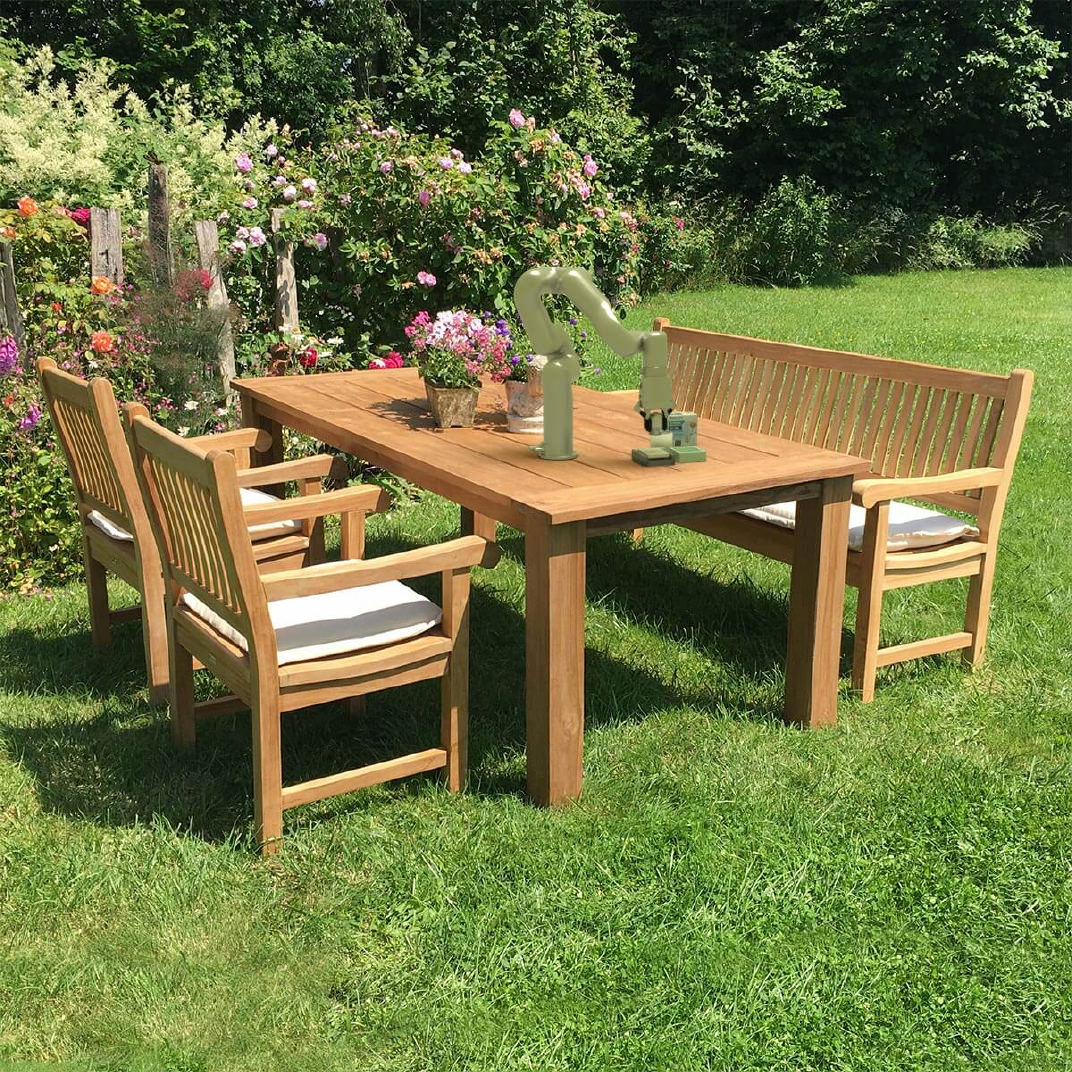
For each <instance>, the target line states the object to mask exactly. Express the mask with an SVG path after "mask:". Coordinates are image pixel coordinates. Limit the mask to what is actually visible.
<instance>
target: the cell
mask: <svg viewBox="0 0 1072 1072" xmlns="http://www.w3.org/2000/svg"><path fill="white" fill-rule="evenodd" d="M649 419H650V420H651V431H650V432H648V435H649V436H651V435H652V436H658V435H663V413H661V411H653V412H651V411H650V416H649Z"/></svg>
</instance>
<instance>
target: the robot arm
mask: <svg viewBox="0 0 1072 1072" xmlns="http://www.w3.org/2000/svg"><path fill="white" fill-rule="evenodd" d="M548 294H549V295H552V294H553V295H564V296H565V297H566V298H567V299H568V300H569V301H570V302H572V303H573V305H574V306H575V307H576V308H577V309H578V310H579V311H580V312H581V313H582V315H583V316H585V317H586V319H588V321H589V322H590V324H591V326H592V328H594V330H595V332H596V333H597V335H598V336H599V337H600V338H601V339H602V341H603V342H604V343H605V344H606V346H608V347H609V348H610V349H611V350H612V351H613V352H614V353H615V354H616V355H617V356H618V357H622V358H627V359H628V358H632V357H634V356H636V355H638V354H639V355H640V354H642V367H641V369H639V370H638V374H640V375H642V376H641V377H640V381H639V387H638V400H637V402H636V403H635V404H634V407H633V411H635V412H636V413H638V414H639V415H640V416H641V417H642V419H643V428H644V430H645V432H647V433H649V432H650V431H651V420H650V419H649V416H650V413H651V411H653V410H654V411H655V410H657V411H658V410H660V412H661V413H663V430H664V431H666V427H667V418H668V417H669V415H670V414H671V413H672V412H674V411H675V410H676V409H677V408H678V404H677V403H676V402H675V400H674V393H673V384H672V377H671V376H670V375H669V374H668V334H667V333H666V332H665V331H660V330H657V331H656V330H653V331H643V330H636V329H635V330H634V329H633V330H632V329H631V330H628V329H626V327H625V326H623V324H622V323H621V322H620V321H619V320H618V319H617V317H616V315H615V314H614V312H613V310H612V304H611V302H610V300H609V298H607V297H606V296H605V295H604V293H602V291H600V289H598V287H597V286H595V284H593V276H592V274H591V272H590V271H588V270H587V269H585V268H583V267H565V266H564V267H563V266H540V267H534V268H531V269H528V270H527V271H525V272H523V273H522V275H520V276H519V278H518V280H517V281H516V283H515V285H514V290H513V301H514V304H515V307H516V311H517V312H518V314H519V317H520V320H521V323H522V325H523V328H524V329H525V332H526V334H527V337H528V340H529V342H530V344H531V347H532V349H533V352H535V353H536V354H537V355H538V356H542V357H546V359H547V362H546V363H545V364H544V366H543V367H542V369H541V376H540V377H541V379H540V381H541V389H542V405H543V407H542V409H543V410H542V411H543V412H542V413H543V414H542V415H543V421H542V422H543V441H540V443H538V445H537V444H536V445H535V444H534V445H533V444H532V445H529V446H528V451H529V452H535V453H538V457H539V456H540V457H539V458H541V459H543V460H550V461H551V460H552V461H562V460H563V461H564V460H565V461H566V460H572V459H576V458H578V456H579V452H578V451H577V450H574V395H573V388H572V384H573V383H574V382H576V381H577V380H578V378H579V377H580V374H581V364H580V361H579V358H578V356H577V353H576V351H575V349H574V346H573V344H572V341H571V339H570V337H569V335H568V333H567V331H566V330H565V329H564V327H563V326H562V325H560V324H557V323H555V322H552V320H551V317H550V315H549V312H548V309H547V308H546V306H545V305H544V303H543V301H542V297H541V296H544V295H548ZM642 409H643V410H642Z"/></svg>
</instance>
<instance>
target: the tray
mask: <svg viewBox="0 0 1072 1072" xmlns="http://www.w3.org/2000/svg"><path fill="white" fill-rule="evenodd" d="M669 452H670V453H672V454H674V455H675V462H677V463H679V464H683V462H686V463H698V462H697V461H701V462H706V461H707V450H704V449H702V448H700V447H698V446H697V445H696V446H687V447H672V448H669Z"/></svg>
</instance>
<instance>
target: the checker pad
mask: <svg viewBox="0 0 1072 1072" xmlns="http://www.w3.org/2000/svg"><path fill="white" fill-rule="evenodd" d="M636 450H637V451H639V452H640V453H642V454H644V455H646V456H647V457H648V458H660V457H669V453H667V452H665V451H663V450H662V449H660V448H650V447H647V448H636Z"/></svg>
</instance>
